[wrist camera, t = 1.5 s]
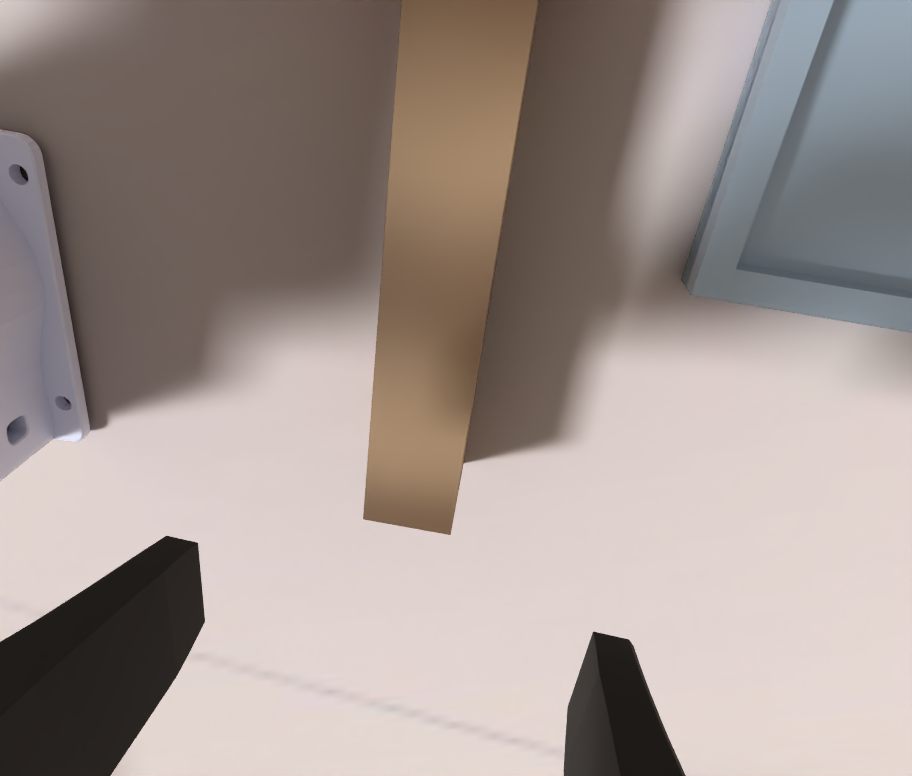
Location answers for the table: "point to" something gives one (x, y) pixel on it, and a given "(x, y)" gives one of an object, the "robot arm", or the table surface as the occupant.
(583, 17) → the table surface
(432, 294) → the push rod
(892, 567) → the table surface
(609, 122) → the table surface
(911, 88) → the tray
